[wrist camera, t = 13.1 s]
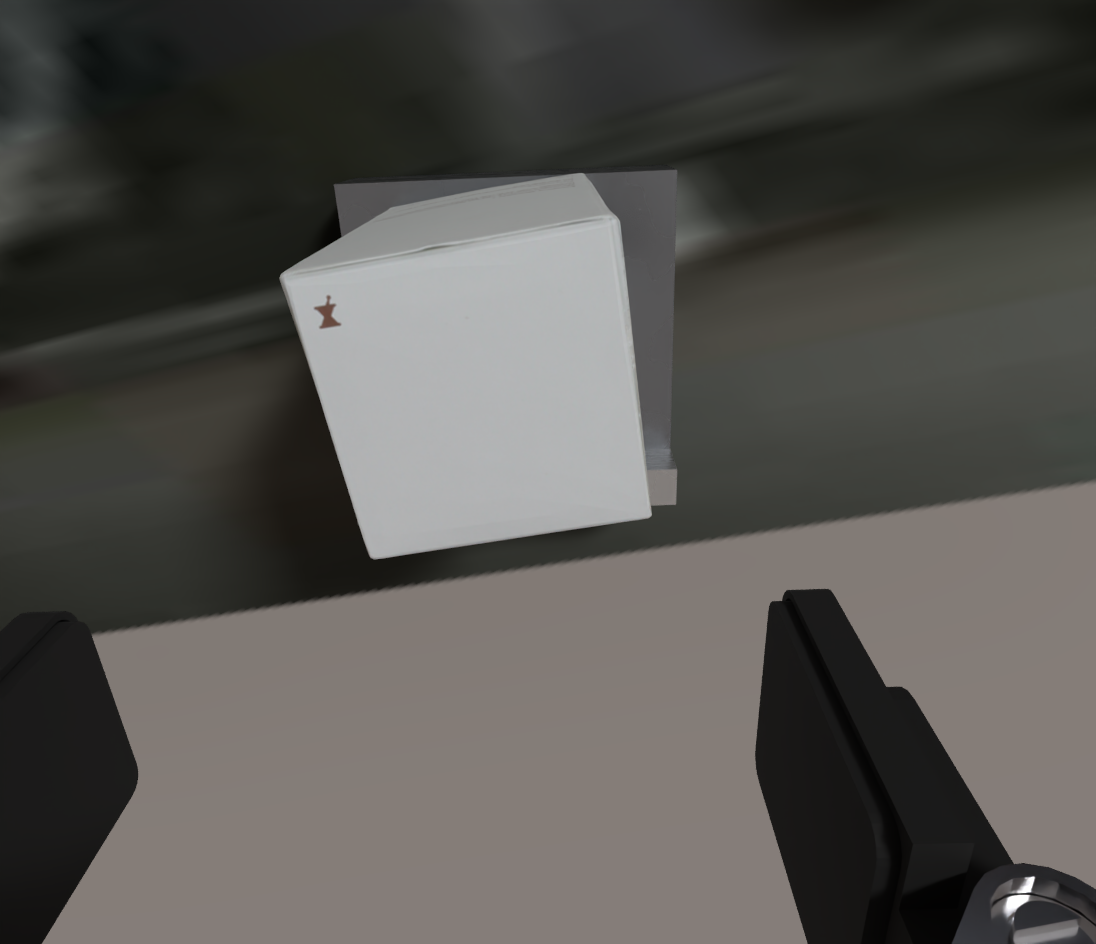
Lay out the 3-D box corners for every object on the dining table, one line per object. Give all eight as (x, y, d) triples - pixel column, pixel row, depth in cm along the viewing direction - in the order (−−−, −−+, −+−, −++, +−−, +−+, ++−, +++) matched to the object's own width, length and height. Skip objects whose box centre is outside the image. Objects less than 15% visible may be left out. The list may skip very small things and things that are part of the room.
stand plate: (354, 178, 30) (317, 189, 26) (666, 164, 30) (685, 173, 25) (392, 463, 35) (367, 514, 31) (660, 453, 35) (676, 504, 30)
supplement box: (432, 399, 31) (357, 568, 19) (386, 203, 28) (265, 265, 16) (619, 371, 30) (657, 528, 19) (593, 167, 27) (619, 206, 16)
